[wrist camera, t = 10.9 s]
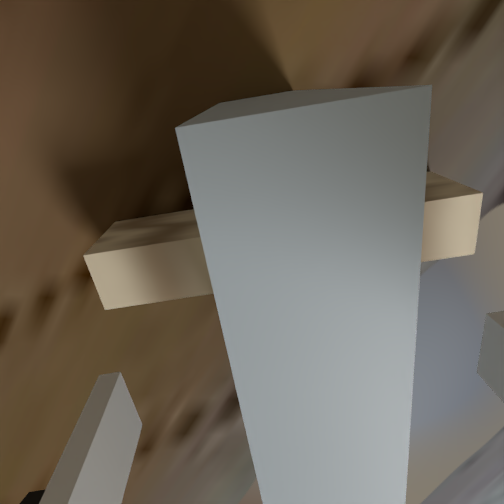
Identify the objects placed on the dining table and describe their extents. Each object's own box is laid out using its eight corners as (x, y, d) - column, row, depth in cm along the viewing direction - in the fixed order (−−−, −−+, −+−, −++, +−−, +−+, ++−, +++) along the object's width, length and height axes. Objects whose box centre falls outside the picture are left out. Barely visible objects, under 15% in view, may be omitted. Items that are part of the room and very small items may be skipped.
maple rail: (130, 267, 28) (105, 309, 22) (115, 221, 26) (83, 255, 21) (427, 221, 27) (474, 253, 22) (430, 171, 26) (483, 192, 20)
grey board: (313, 312, 30) (401, 565, 14) (257, 320, 31) (280, 581, 14) (293, 90, 23) (432, 85, 7) (219, 102, 23) (174, 127, 7)
